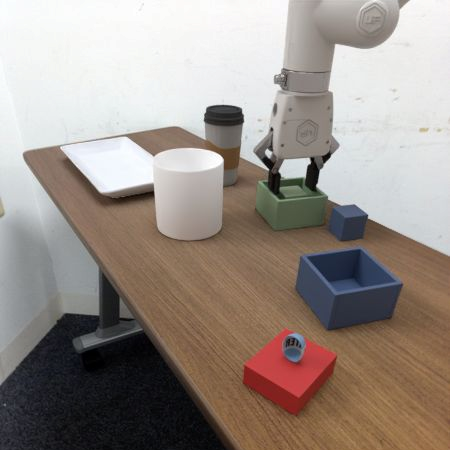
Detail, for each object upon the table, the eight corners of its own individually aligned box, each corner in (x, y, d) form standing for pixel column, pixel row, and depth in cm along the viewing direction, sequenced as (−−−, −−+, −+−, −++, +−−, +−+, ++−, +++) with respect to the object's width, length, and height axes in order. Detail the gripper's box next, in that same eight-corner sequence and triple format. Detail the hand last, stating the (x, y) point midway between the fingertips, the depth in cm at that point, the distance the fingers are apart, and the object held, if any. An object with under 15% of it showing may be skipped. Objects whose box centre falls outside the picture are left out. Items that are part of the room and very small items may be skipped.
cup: (228, 238, 73) (230, 169, 66) (160, 243, 71) (155, 173, 64) (215, 209, 82) (216, 146, 75) (154, 213, 80) (149, 149, 73)
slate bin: (353, 278, 64) (361, 246, 61) (391, 317, 57) (403, 283, 54) (295, 288, 62) (300, 254, 58) (327, 330, 54) (335, 295, 51)
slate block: (349, 226, 78) (354, 203, 75) (362, 238, 75) (368, 214, 72) (327, 229, 77) (332, 206, 74) (340, 241, 74) (345, 217, 71)
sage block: (294, 207, 83) (297, 185, 80) (305, 217, 79) (308, 194, 77) (273, 209, 82) (275, 187, 79) (282, 220, 78) (285, 197, 76)
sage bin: (300, 203, 86) (304, 176, 82) (323, 224, 78) (328, 196, 75) (255, 208, 83) (257, 180, 80) (274, 231, 76) (277, 201, 73)
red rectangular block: (282, 345, 52) (289, 304, 48) (332, 372, 48) (343, 330, 45) (242, 382, 47) (246, 340, 43) (295, 416, 43) (304, 372, 40)
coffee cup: (248, 183, 93) (253, 111, 85) (217, 191, 90) (218, 115, 81) (227, 172, 99) (229, 102, 90) (196, 178, 95) (195, 106, 86)
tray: (102, 208, 81) (100, 191, 79) (61, 159, 103) (58, 144, 101) (182, 192, 89) (181, 176, 86) (127, 149, 110) (126, 135, 108)
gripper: (262, 88, 62) (254, 203, 73) (366, 84, 66) (344, 193, 77) (245, 79, 68) (240, 187, 78) (341, 76, 72) (324, 178, 83)
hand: (292, 189), depth 78 cm, fingers open, 6 cm apart
